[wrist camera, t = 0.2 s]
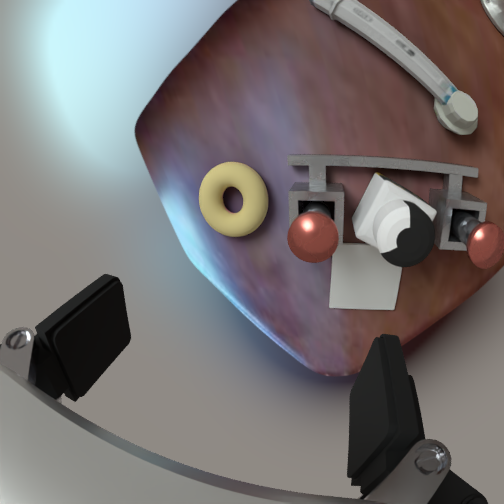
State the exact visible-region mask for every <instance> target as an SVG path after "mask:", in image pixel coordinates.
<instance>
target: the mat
mask: <svg viewBox="0 0 504 504" xmlns="http://www.w3.org/2000/svg"><path fill="white" fill-rule="evenodd" d="M401 271H402V267H398V266H394V265H392V264H390V263H389V262H387V261H386V260H385V259H384V258H383V257H382V255H381V253H380V251H379V249H377V248H375V247H373V246H371V245H370V244H363V243H343V245H338V246H337V249H336V251H335V252H334V253H333V255H332V273H331V289H330V302H329V308H345V309H373V310H394V309H395V304H396V299H397V294H398V288H399V283H400V277H401Z"/></svg>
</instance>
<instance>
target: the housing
mask: <svg viewBox="0 0 504 504" xmlns="http://www.w3.org/2000/svg"><path fill="white" fill-rule="evenodd" d="M288 165H309V182H295V183H294V184H293V186H292V187H291V188H290V190H289V222H290V226H291V224H292V222H293V221H294V219H295V218H296V217H297V216H299V215H300V214H302V213H303V200H308V201H334V222H335V224H336V226H337V229H338V235H339V242H338V245H343V220H344V190H343V186H342V183H326V166H357V167H377V168H393V169H406V170H418V171H428V172H438V173H444V180H443V190H442V189H431V188H430V193H429V205H430V206H432V207H433V208H434V209H435V210H436V212H437V214H436V216H435V218H434V219H433V221H432V222H433V225H434V228H435V241H434V243H435V244H436V245H437V247H438V248H439V249H445V250H465V251H467V249H466V245H465V244H464V243H463V242H462V241H461V240H460V239H459V238H458V237H457V236H455V235H454V234H453V233H452V232H451V230H450V225H451V217H452V209H453V208H457V209H462V210H465V211H466V212H468V213H469V214H470V215H472V216H473V217H475V218H476V219H478V220H479V221H480V222H485V215H486V208H487V203H486V202H484V201H482V200H480V199H479V198H477V197H475V196H473V195H471V194H469V193H468V192H461V190H462V176H470V177H476V178H478V168H475V167H472V166H466V165H459V164H452V163H444V162H436V161H427V160H417V159H406V158H394V157H379V156H360V155H325V154H293V155H288Z"/></svg>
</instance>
